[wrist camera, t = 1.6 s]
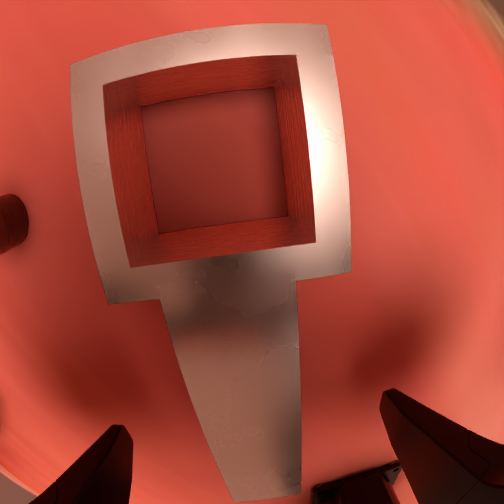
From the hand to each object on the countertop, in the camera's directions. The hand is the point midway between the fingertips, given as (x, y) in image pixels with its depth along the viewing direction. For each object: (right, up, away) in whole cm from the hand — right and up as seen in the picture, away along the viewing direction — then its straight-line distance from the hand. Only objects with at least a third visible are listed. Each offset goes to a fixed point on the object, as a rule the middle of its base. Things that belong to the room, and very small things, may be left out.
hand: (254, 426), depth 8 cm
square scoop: (-1, +3, +2) cm, 4 cm away
